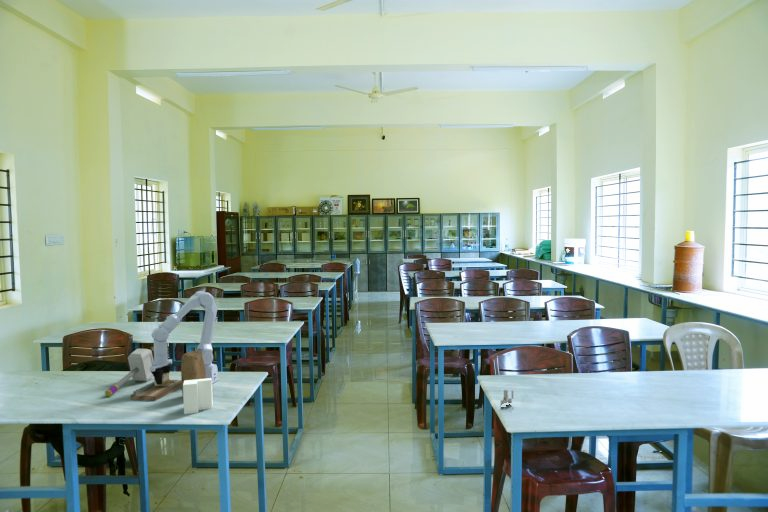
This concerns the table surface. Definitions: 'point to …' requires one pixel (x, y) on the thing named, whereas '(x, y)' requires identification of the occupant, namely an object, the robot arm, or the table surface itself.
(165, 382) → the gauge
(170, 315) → the robot arm
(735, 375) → the table surface
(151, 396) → the board
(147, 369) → the hammer
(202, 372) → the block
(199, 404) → the corner bracket
